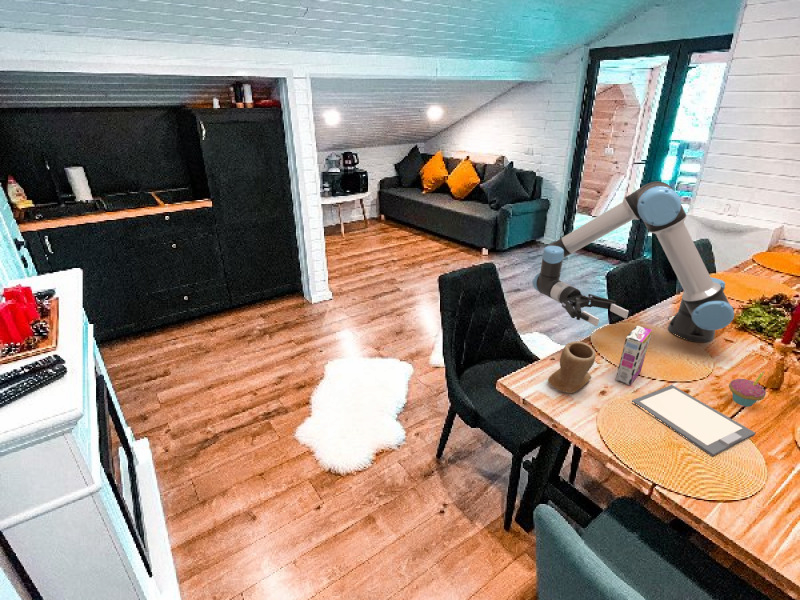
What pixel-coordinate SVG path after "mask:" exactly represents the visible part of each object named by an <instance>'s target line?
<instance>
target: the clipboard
mask: <svg viewBox="0 0 800 600" xmlns="http://www.w3.org/2000/svg"><path fill="white" fill-rule="evenodd" d="M631 401H632V402H634V403H635V404H637V405H639V406H640V407H642V408H644V409H645V410H647V411H648V412H649V413H651V414H652V415H654V416H655V417H656V418H657V419H659V420H661V421H662V422H663V423H665V424H666V425H668V426H669V427H671V428H672V429H673V430H675V431H676V432H678V433H679V434H681V435H682V436H684V437H685V438H687V439H688V440H689V441H688V440H687V439H686V440H687V441H688V442H690V441H691V442H692V443H691V442H690V443H691V444H693V443H694V444H695V445H694V444H693V445H694V446H696V447H697V446H698V447H697V448H698V449H700V448H701V449H700V450H702V451H703V450H704V451H703V452H705V451H706V452H707V453H706V452H705V453H706V454H707V455H710V456H711V457H715V456H716V454H717V455H719V454H720V452H721V453H723V452H724V451H726V450H728V449H730V448H732V447H734V446H737V445H738V444H740V443H742V442H745V441H746V440H748V439H750V438H752V437H754V436H755V435H756V432H754V431H753V430H751V429H749V428H748V427H746V426H744V425H742V424H741V423H740V422H738V421H735V420H734V419H732V418H731V417H728V416H727V415H726V414H723V412H720V411H719V410H717V409H715V408H713V407H711V406H710V405H708V404H706V403H704V402H702V401H701V400H699V399H697V398H696V397H694V396H692V395H690V394H689V393H687V392H685V391H684V390H682V389H680V388H678V387H677V386H674V385H673V384H671V385H668V386H665V387H663V388H660V389H658V390H655V391H652V392H650V393H648V394H647V393H646V394H644V395H642V396H639V397H637V398H635V399H632V400H631ZM657 419H656V420H657ZM663 423H662V424H663ZM666 425H665V426H666ZM669 427H668V428H669ZM672 429H671V430H672ZM673 430H672V431H673ZM675 431H674V432H675ZM676 432H675V433H676ZM678 433H677V434H678ZM679 434H678V435H679ZM681 435H680V436H681ZM682 436H681V437H682ZM684 437H683V438H684ZM685 438H684V439H685ZM718 453H719V454H718ZM714 455H715V456H714Z"/></svg>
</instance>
